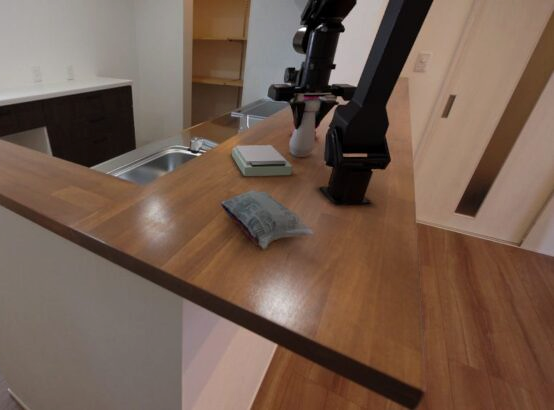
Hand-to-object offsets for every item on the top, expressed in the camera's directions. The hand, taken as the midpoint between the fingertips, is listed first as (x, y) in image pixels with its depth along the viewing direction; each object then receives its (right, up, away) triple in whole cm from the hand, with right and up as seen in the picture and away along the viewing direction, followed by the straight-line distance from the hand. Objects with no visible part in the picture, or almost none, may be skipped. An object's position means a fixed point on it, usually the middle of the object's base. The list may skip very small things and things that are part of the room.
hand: (304, 130), depth 71 cm
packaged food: (-16, -21, -26) cm, 37 cm away
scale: (-11, -9, -3) cm, 15 cm away
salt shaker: (0, -5, +3) cm, 6 cm away
